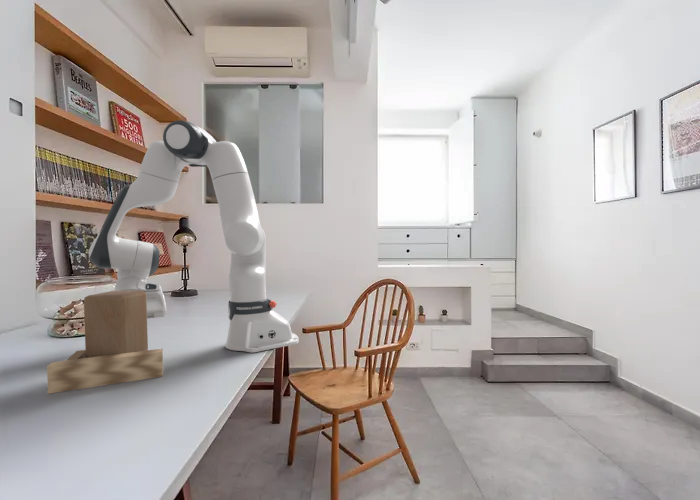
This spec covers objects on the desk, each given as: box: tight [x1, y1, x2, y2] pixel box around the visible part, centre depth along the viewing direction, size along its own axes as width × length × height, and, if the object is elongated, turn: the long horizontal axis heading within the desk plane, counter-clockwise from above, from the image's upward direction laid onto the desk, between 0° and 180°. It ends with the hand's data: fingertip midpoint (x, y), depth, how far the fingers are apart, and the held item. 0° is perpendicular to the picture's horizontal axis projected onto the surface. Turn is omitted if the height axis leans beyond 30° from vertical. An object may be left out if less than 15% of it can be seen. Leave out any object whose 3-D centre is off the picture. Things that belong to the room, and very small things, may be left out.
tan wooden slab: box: [46, 348, 164, 395], centre depth 86 cm, size 22×11×6 cm, turn 114°
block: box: [83, 290, 149, 358], centre depth 90 cm, size 10×10×20 cm
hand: (127, 331), depth 103 cm, fingers closed
